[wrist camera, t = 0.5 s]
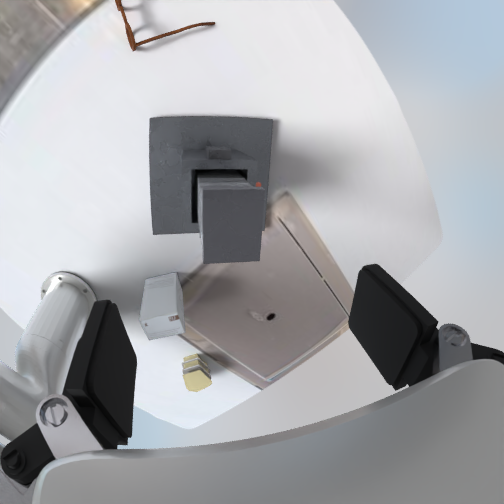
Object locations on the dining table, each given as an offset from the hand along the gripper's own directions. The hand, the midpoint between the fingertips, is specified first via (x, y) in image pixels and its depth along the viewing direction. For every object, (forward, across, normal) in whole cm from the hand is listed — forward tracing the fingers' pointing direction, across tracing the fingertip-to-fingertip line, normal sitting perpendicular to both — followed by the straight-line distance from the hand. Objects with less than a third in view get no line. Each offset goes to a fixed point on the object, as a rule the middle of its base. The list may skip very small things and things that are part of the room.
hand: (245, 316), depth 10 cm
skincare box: (+35, +8, +20) cm, 41 cm away
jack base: (+35, -1, +2) cm, 35 cm away
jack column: (+33, -1, +2) cm, 33 cm away
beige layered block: (+35, +6, +42) cm, 55 cm away
